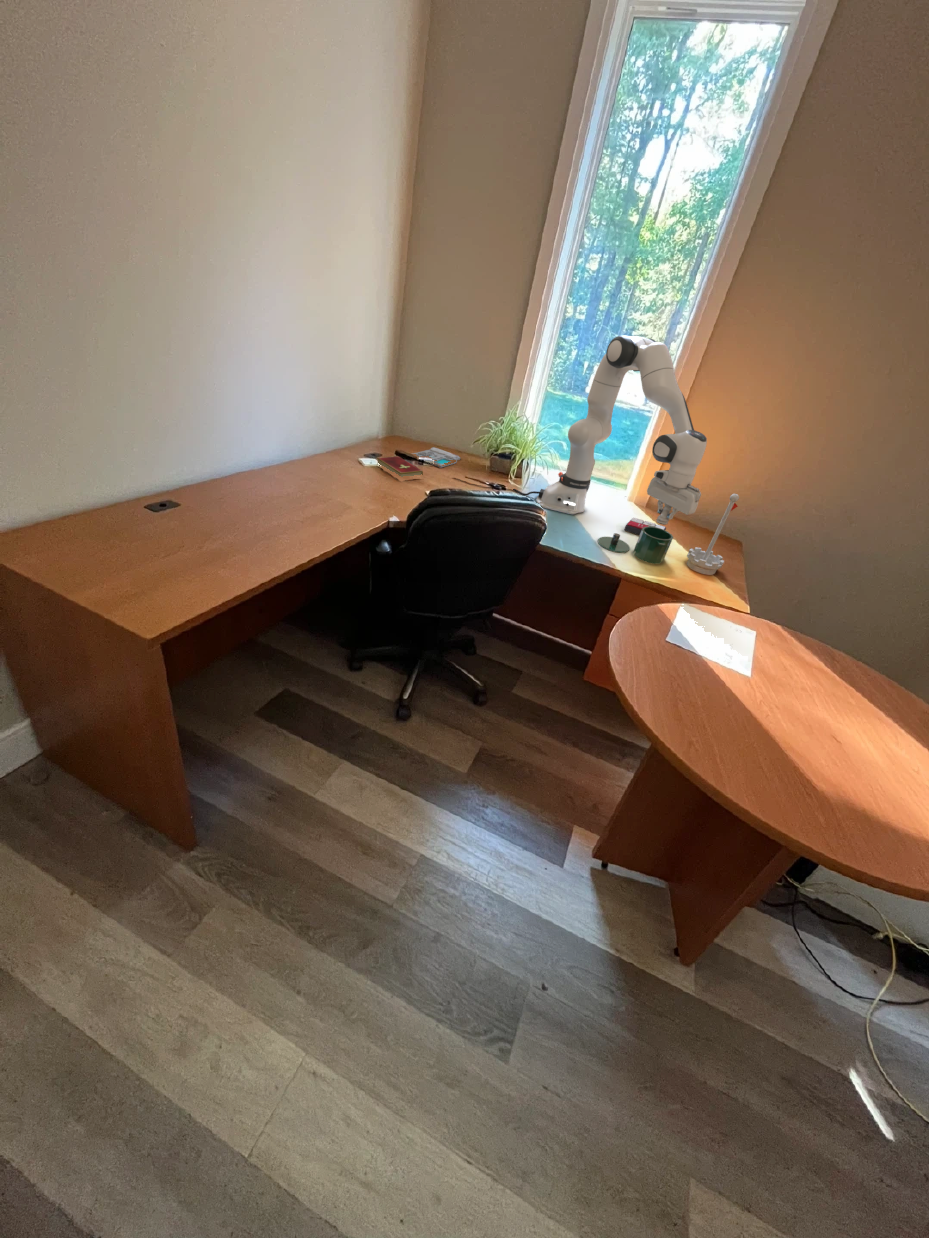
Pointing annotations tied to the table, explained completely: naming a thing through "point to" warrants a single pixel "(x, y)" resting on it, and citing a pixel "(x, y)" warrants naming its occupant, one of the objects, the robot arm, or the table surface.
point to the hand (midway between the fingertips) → (664, 515)
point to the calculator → (639, 526)
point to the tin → (652, 544)
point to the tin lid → (613, 543)
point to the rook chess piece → (664, 515)
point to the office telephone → (439, 456)
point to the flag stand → (710, 548)
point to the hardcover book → (399, 466)
